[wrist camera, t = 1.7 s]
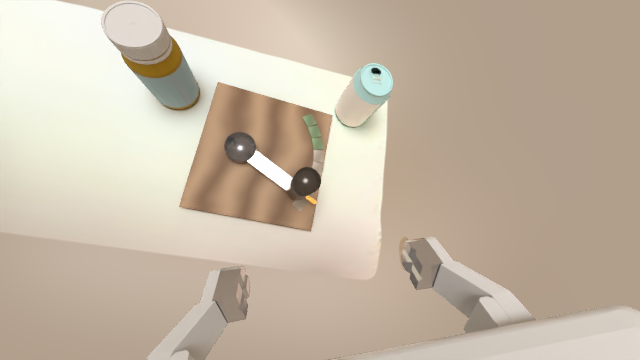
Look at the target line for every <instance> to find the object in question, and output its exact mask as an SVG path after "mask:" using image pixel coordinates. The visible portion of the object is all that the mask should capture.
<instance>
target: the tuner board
mask: <svg viewBox="0 0 640 360" xmlns="http://www.w3.org/2000/svg"><path fill="white" fill-rule="evenodd" d="M331 120H332V115H329V114H326V113H323V112H319V111H316V110H312V109H309V108H305V107H302V106H299V105H295V104H292V103H288V102H285V101H281V100H278V99H275V98H271V97H268V96H264V95H261V94H257V93H254V92H251V91H247V90H244V89H240V88H237V87H233V86H230V85H227V84H223V83H220V82H218V84H217V87H216V90H215V94H214V97H213V100H212V103H211V106H210V110H209V113H208V116H207V119H206V122H205V125H204V129H203V132H202V135H201V138H200V141H199V145H198V148H197V151H196V154H195V157H194V161H193V164H192V167H191V170H190V173H189V176H188V180H187V183H186V186H185V189H184V192H183V196H182V199H181V202H180V205H179V207H184V208H189V209H195V210H200V211H206V212H211V213H217V214H222V215H228V216H233V217H239V218H244V219H249V220H255V221H260V222H266V223H271V224H277V225H282V226H288V227H293V228H299V229H304V230H309V231H311V228H312V223H313V217H314V212H315V206H316V204H315V205H313V204H312V203H311V202H309V201H308V200H307V199H305V198H303V199H301V200H293V199H292V198H290V197H289V195H288V194H287V192H286V191H285V190H283V189H282V188H281V187H279V186H278V185H277V184H275V183H274V182H273V181H271V180H270V179H269V178H267V177H266V176H264V175H263V174H262V173H260V172H259V171H258V170H256V169H255V168H254V167H252V166H251V165H250V164H248V163H244V164H239V163H235V162H233V161H232V160H231V159H230V158H229V157H228V155H227V154H226V152H225V149H224V143H225V141H226V139H227V137H228V136H230V135H231V134H233V133H236V132H243V133H247V134H248V135H250V136H251V137H252V138H253V139H254V141H255V144H256V151H258V152H259V153H260V154H262V155H263V156H264V157H266V158H267V159H268V160H270V161H271V162H272V163H274V164H275V165H276V166H278V167H279V168H280V169H281V170H283V171H284V172H285V173H287V174H288V175H289V176H291V177H292V178H293V177H294V175H295V174H296V172H297V171H298V170H299V169H301V168H304V167H311V168H313V169H315V170H316V171H317V172H318V173H319V175H320V178H321V175H322V170H323V163H324V158H325V152H326V147H327V142H328V136H329V131H330V125H331ZM318 190H319V189H318ZM318 190H317V191H315V192H314V193H312V194H310V195H309V196H310V197H312V198H313V199H314V200H316V201H317V196H318Z"/></svg>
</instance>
